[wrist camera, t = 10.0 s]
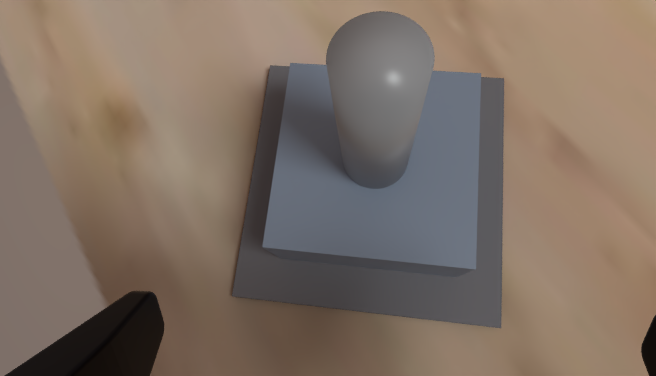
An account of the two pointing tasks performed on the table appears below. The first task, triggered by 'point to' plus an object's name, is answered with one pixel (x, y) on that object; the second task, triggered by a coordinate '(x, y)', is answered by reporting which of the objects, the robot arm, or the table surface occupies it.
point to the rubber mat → (367, 283)
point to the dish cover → (378, 155)
